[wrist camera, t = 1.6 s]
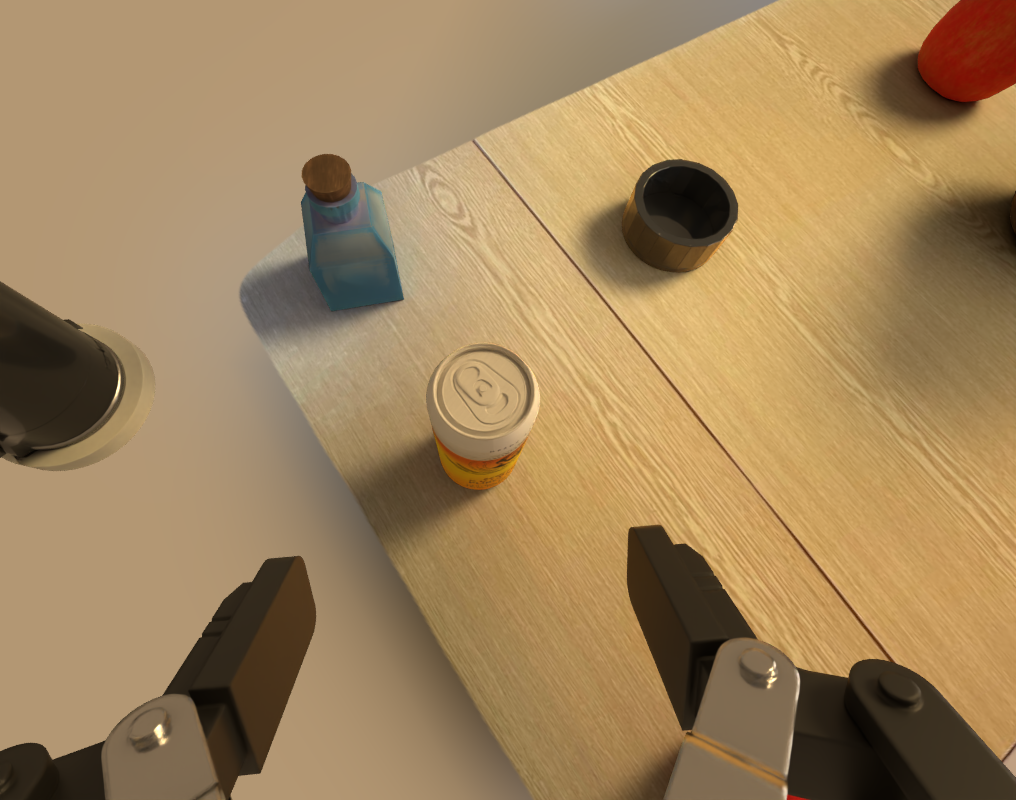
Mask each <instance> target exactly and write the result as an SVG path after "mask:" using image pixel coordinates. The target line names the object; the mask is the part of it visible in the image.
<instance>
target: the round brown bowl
mask: <svg viewBox="0 0 1016 800" xmlns="http://www.w3.org/2000/svg"><path fill="white" fill-rule="evenodd" d="M737 219H738V203H737V200H736V197H735V194H734V191H733V190H732V189H731V187H730V186H729V185H728V183H727V182H726V180H725V179H724V178H722V177H721V176H720V175H719V174H717V173H716V172H715V171H714V170H712V169H710V168H708V167H706V166H704V165H702V164H700V163H696V162H692V161H687V160H682V159H678V160H666V161H663V162H660V163H657V164H654V165H652V166H651V167H650V168H648V169H647V170H646V171H645V172H643V173H642V175H641V176H640V178H639V180H638V181H637V183H636V185H635V187H634V190H633V192H632V194H631V197H630V199H629V201H628V203H627V206H626V208H625V212H624V214H623V218H622V231H623V235H624V238H625V240H626V243H627V244H628V246H629V248H630V249H631V250H632V251H633V253H634V254H635V255H636V256H637V257H638V258H640V259H641V260H642V261H644V262H645V263H647V264H648V265H650V266H652V267H654V268H657V269H660V270H664V271H669V272H686V271H690V270H693V269H696V268H698V267H700V266H702V265H703V264H705V263H706V262H707V261H708V260H709V259H710V258H711V257H712V256H713V255H714V254H715V252H716V251H717V250H718V249H719V247H720V246H721V245H722V243H723V242H724V241H725V240H726V238H727V237H728V236H729V235H730V233H731V232H732V230H733V228H734V226H735V224H736V222H737Z"/></svg>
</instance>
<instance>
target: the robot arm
mask: <svg viewBox="0 0 1016 800" xmlns="http://www.w3.org/2000/svg"><path fill="white" fill-rule="evenodd" d="M78 329H83V328H82V327H80V326H79V325H77V324H76V323H74V322H72V321H71V320H69V319H68V320H62V319H60V318H59V317H57V316H56V315H54V314H52V313H51V312H49V311H48V310H46V309H44V308H43V307H41V306H39V305H38V304H36V303H34V302H33V301H31V300H30V299H28V298H26V297H25V296H23V295H21V294H20V293H18V292H17V291H15V290H13V289H12V288H10V287H8V286H7V285H5V284H4V283H2V282H0V458H1V457H2V456H4V455H5V454H10V455H14V456H18V457H22V458H26V457H28V456H30V455H31V454H33V453H34V452H36V451H38V450H55V449H61V448H65V447H68V446H71V445H74V444H76V443H79V442H81V441H83V440H85V439H87V438H88V437H90V436H91V435H93V434H94V433H96V432H97V431H98V430H100V429H101V428H102V427H103V426H104V425H105V424H106V423H107V422H108V421H109V420H110V419H111V417H112V416H113V415H114V413H115V412H116V410H117V409H118V407H119V405H120V403H121V401H122V398H123V395H124V391H125V385H126V376H125V370H124V367H123V364H122V362H121V360H120V358H119V357H118V355H117V354H116V353H115V352H114V351H113V350H112V349H111V348H110V347H108V346H107V345H105V344H104V343H102V342H100V341H99V340H97V339H95V338H92V337H91V336H89V335H88V334H86V333H84V332H82V331H80V330H78ZM627 586H628V592H629V597H630V600H631V604H632V606H633V609H634V611H635V614H636V616H637V619H638V621H639V624H640V626H641V629H642V631H643V634H644V636H645V639H646V641H647V644H648V646H649V649H650V651H651V653H652V656H653V658H654V661H655V663H656V666H657V668H658V671H659V673H660V676H661V678H662V681H663V683H664V686H665V688H666V691H667V693H668V696H669V698H670V701H671V703H672V706H673V708H674V711H675V713H676V716H677V718H678V721H679V723H680V726H681V728H682V731H683V730H692V731H691V733H689V732H687V733H686V735H685V737H684V739H683V742H682V745H681V748H680V751H679V754H678V757H677V760H676V763H675V766H674V769H673V772H672V775H671V778H670V781H669V784H668V787H667V790H666V793H665V796H664V799H663V800H787V794H788V795H792V796H796V797H800V798H804V799H809V800H1016V777H1015V776H1014V775H1013V774H1012V773H1011V772H1010V770H1009V769H1008V768H1007V767H1006V766H1005V765H1004V764H1003V763H1002V762H1001V760H1000V759H999V758H998V757H997V756H996V755H995V754H994V753H993V751H992V750H991V749H990V748H989V747H988V746H987V745H986V744H985V743H984V741H983V740H982V739H981V738H980V737H979V736H978V735H977V734H976V733H975V731H974V730H973V729H972V728H971V727H970V726H969V725H968V724H967V722H966V721H965V720H964V719H963V718H962V717H961V716H960V715H959V714H958V712H957V711H956V710H955V709H954V708H953V707H952V706H951V705H950V703H949V702H948V701H947V700H946V699H945V698H944V697H943V696H942V695H941V693H940V692H939V691H938V690H937V689H936V688H935V687H934V686H933V685H932V684H930V683H929V682H928V681H927V680H926V679H924V678H923V677H921V676H920V675H918V674H917V673H915V672H913V671H911V670H910V669H908V668H905V667H903V666H901V665H898V664H896V663H893V662H889V661H885V660H879V659H867V660H862V661H859V662H857V663H856V664H854V665H853V667H852V668H851V670H850V673H849V677H848V678H846V677H840V676H834V675H829V674H823V673H818V672H812V671H807V670H803V669H800V668H797V667H795V665H794V664H793V662H792V661H791V660H790V659H789V658H788V657H787V656H786V655H785V654H784V653H783V652H781V651H780V650H778V649H777V648H775V647H774V646H772V645H770V644H768V643H766V642H763V641H760V640H758V639H757V637H756V636H755V634H754V633H753V631H752V630H751V628H750V627H749V625H748V624H747V622H746V621H745V619H744V618H743V616H742V615H741V613H740V612H739V610H738V609H737V607H736V606H735V604H734V603H733V601H732V600H731V598H730V597H729V595H728V594H727V592H726V591H725V589H723V588H722V585H721V583H720V582H719V580H718V579H717V577H716V576H714V574H713V571H712V570H711V568H710V567H709V565H708V564H707V562H706V561H705V559H704V558H703V556H701V555H700V554H699V553H697V552H696V551H695V550H693V549H692V548H691V547H689V546H688V545H687V544H675V545H673V543H672V542H671V540H670V538H669V537H668V535H667V533H666V532H665V530H664V528H663V527H662V526H661V525H651V526H639V527H630V529H629V533H628V558H627ZM315 622H316V608H315V603H314V599H313V595H312V591H311V587H310V583H309V579H308V575H307V571H306V567H305V563H304V560H303V559H302V557H301V556H294V557H283V558H272V559H267V560H266V561H265V562H264V563H263V565H262V566H261V568H260V570H259V571H258V573H257V575H256V577H255V578H254V580H253V581H252V582H249V583H243V584H241V585H240V586H239V587H238V588H237V589H236V590H235V591H233V592H232V593H231V594H230V595H229V596H228V597H226V598H225V599H224V600H223V602H222V603H221V605H220V607H219V608H218V610H217V611H216V613H215V615H214V616H213V618H212V622H209V624H208V625H207V627H206V629H205V630H204V632H203V633H202V638H199V640H198V641H197V643H196V644H195V646H194V647H193V649H192V650H191V652H190V653H189V655H188V656H187V658H186V660H185V661H184V663H183V664H182V666H181V667H180V669H179V671H178V672H177V674H176V675H175V677H174V679H173V680H172V681H171V683H170V685H169V686H168V688H167V689H166V691H165V693H164V694H163V695H162V696H160V697H158V698H155V699H152V700H150V701H148V702H146V703H144V704H143V705H141V706H139V707H137V708H136V709H135V710H133V711H132V712H130V713H129V714H128V715H127V716H126V717H124V718H123V719H122V720H121V721H120V722H119V723H118V724H117V725H116V726H115V728H114V729H113V730H112V731H111V733H110V734H109V736H108V737H107V739H106V740H105V741H103V742H100V743H98V744H95V745H92V746H89V747H87V748H84V749H81V750H78V751H76V752H73V753H70V754H68V755H65V756H62V757H59V758H56V759H54V760H52V759H51V757H50V755H49V753H48V751H47V750H46V748H45V747H44V746H43V745H41V744H37V743H24V744H20V745H16V746H13V747H10V748H7V749H5V750H2V751H0V800H232V798H231V795H230V794H231V792H232V790H233V787H234V785H235V782H236V780H237V778H238V776H241V775H250V774H259V773H261V770H262V768H263V765H264V762H265V760H266V757H267V754H268V752H269V749H270V746H271V744H272V741H273V739H274V736H275V733H276V731H277V728H278V725H279V723H280V720H281V718H282V715H283V712H284V710H285V707H286V704H287V702H288V699H289V696H290V694H291V691H292V689H293V686H294V683H295V680H296V678H297V675H298V673H299V670H300V667H301V665H302V662H303V659H304V656H305V654H306V652H307V649H308V646H309V644H310V641H311V638H312V636H313V633H314V629H315Z"/></svg>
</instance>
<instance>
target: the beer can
mask: <svg viewBox="0 0 1016 800" xmlns="http://www.w3.org/2000/svg"><path fill="white" fill-rule="evenodd" d="M426 403H427V409H428V413H429V417H430V421H431V425H432V429H433V433H434V437H435V441H436V445H437V449H438V453H439V456H440V460H441V464H442V466H443V468H444V470H445V472H446V473H447V475H448V476H449V477H450V478H451V479H452V480H453V481H454V482H456V483H457V484H459V485H461V486H463V487H465V488H469V489H475V490H482V489H488V488H491V487H494V486H496V485H498V484H500V483H501V482H503V481H504V480H505V479H506V478H507V477H508V476H509V475H510V473H511V472H512V470H513V468H514V466H515V464H516V462H517V460H518V457H519V455H520V453H521V451H522V449H523V446H524V444H525V442H526V440H527V438H528V436H529V433H530V431H531V429H532V427H533V425H534V422H535V420H536V418H537V415H538V412H539V407H540V391H539V386H538V383H537V380H536V378H535V376H534V374H533V372H532V371H531V369H530V368H529V366H528V365H527V364H526V363H525V362H524V361H523V359H521V358H520V357H519V356H518V355H517V354H516V353H515V352H513V351H511V350H510V349H508V348H506V347H503V346H501V345H497V344H493V343H474V344H469V345H466V346H463V347H461V348H459V349H457V350H455V351H454V352H452V353H451V354H450V355H448V356H447V357H446V358H445V359H444V360H442V361H441V362H440V364H439V365H438V366H437V367H436V369H435V370H434V372H433V374H432V376H431V377H430V380H429V383H428V387H427V394H426Z"/></svg>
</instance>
